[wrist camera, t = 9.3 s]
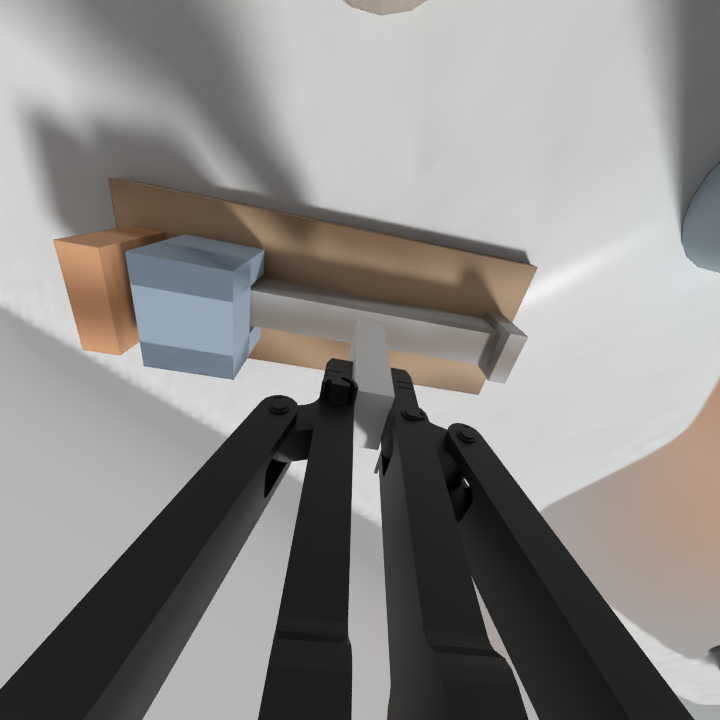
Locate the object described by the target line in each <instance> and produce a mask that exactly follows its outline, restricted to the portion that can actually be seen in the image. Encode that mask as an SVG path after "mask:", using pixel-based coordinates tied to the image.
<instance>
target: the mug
mask: <svg viewBox="0 0 720 720" xmlns="http://www.w3.org/2000/svg"><path fill="white" fill-rule="evenodd" d="M344 1H345V2H346V3H347V4H349V5H350V6H351V7H354V8H357V9H361V10H364V11H367V12H371V13H374V14H378V15H387V14H393V13H399V12H405V11H411V10H413V9H414V8H416V7H417V6H419V5H421V4H422V3H424V2H425V1H427V0H344Z"/></svg>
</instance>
